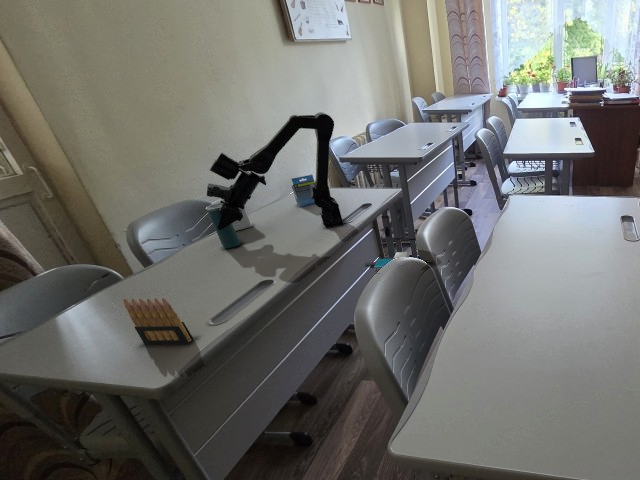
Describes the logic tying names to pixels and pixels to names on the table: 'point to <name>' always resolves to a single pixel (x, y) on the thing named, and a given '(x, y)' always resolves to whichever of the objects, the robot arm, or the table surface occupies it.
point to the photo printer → (237, 224)
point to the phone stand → (386, 261)
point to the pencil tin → (227, 233)
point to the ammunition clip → (157, 323)
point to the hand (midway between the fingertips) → (218, 226)
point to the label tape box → (303, 190)
